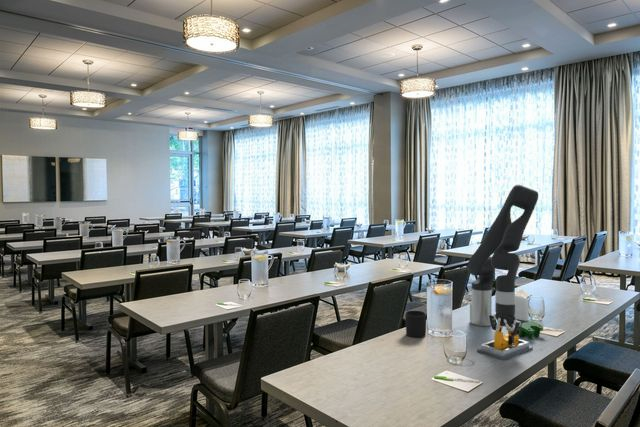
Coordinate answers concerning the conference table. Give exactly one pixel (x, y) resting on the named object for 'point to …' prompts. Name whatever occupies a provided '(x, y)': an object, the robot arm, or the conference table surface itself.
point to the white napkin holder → (521, 308)
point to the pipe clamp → (503, 340)
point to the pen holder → (415, 324)
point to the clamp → (530, 329)
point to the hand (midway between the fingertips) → (505, 342)
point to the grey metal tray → (504, 350)
